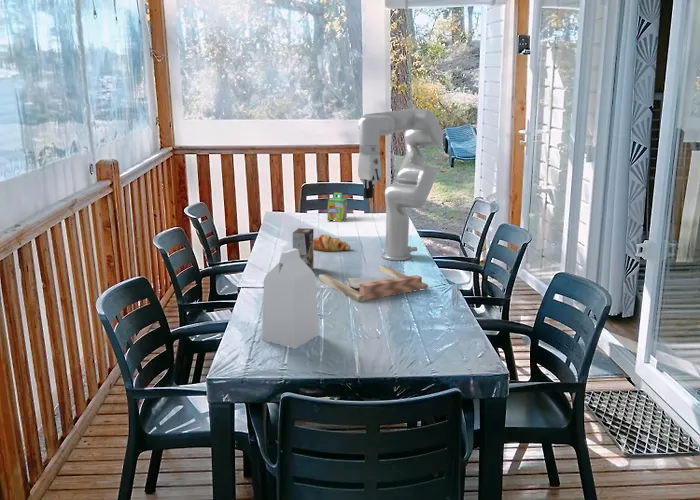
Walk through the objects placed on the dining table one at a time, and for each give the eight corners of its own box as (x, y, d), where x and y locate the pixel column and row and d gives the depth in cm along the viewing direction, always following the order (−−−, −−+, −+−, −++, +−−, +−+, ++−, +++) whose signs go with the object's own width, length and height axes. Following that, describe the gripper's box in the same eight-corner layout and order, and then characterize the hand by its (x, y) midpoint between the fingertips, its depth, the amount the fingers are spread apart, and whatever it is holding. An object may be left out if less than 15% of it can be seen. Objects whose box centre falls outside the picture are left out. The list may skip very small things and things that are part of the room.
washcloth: (344, 284, 243) (344, 276, 242) (392, 283, 245) (392, 275, 244) (347, 294, 231) (348, 285, 231) (398, 293, 233) (398, 284, 233)
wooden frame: (384, 270, 260) (384, 257, 259) (427, 289, 236) (428, 276, 234) (319, 279, 246) (319, 267, 245) (358, 302, 221) (358, 287, 220)
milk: (294, 348, 182) (293, 258, 175) (262, 340, 188) (260, 252, 181) (319, 335, 192) (319, 249, 185) (287, 327, 198) (286, 243, 191)
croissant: (351, 256, 294) (352, 239, 295) (348, 251, 284) (350, 233, 286) (304, 253, 296) (306, 236, 298) (300, 247, 287) (302, 230, 289)
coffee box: (308, 274, 253) (308, 233, 249) (292, 272, 255) (291, 232, 251) (314, 267, 262) (314, 228, 258) (298, 266, 263) (298, 227, 259)
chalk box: (327, 221, 350) (327, 194, 347) (330, 218, 359) (330, 191, 356) (344, 222, 349) (344, 194, 345) (347, 218, 358) (347, 192, 354)
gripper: (388, 151, 243) (387, 200, 247) (367, 147, 255) (366, 194, 260) (371, 152, 239) (370, 201, 244) (350, 148, 252) (350, 195, 256)
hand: (368, 197), depth 252 cm, fingers closed
